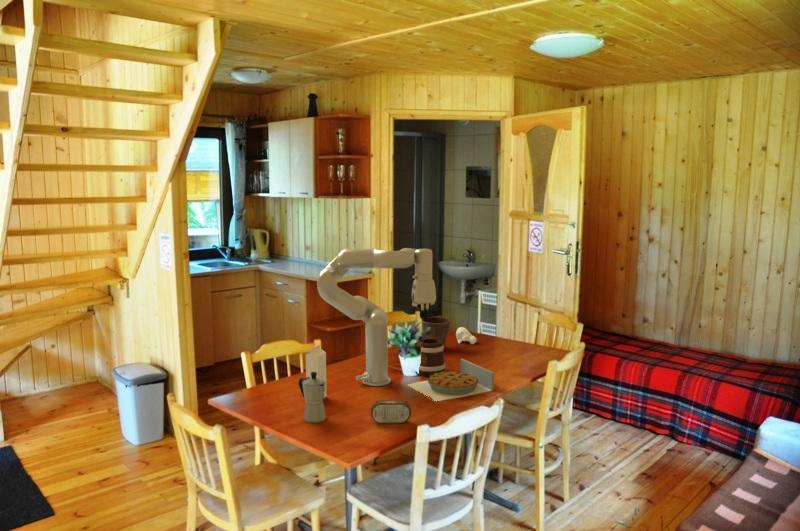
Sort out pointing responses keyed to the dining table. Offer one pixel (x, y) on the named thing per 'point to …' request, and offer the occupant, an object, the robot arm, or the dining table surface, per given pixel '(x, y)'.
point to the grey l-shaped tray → (482, 374)
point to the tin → (390, 411)
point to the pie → (453, 383)
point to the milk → (316, 364)
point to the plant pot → (437, 328)
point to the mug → (431, 357)
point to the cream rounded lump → (464, 335)
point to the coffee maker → (313, 398)
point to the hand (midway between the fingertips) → (423, 318)
